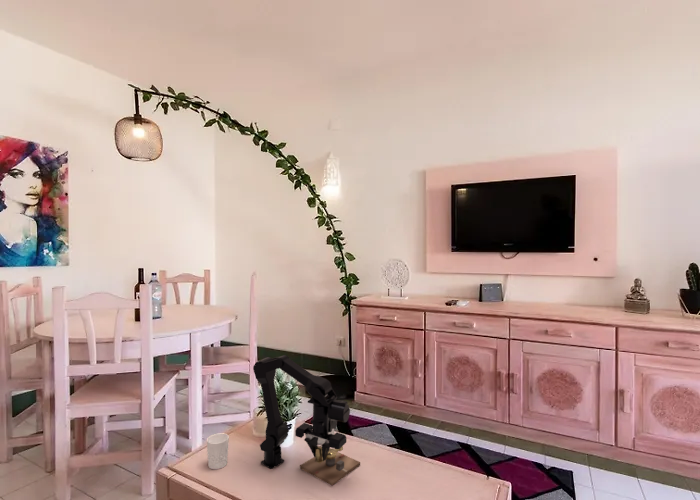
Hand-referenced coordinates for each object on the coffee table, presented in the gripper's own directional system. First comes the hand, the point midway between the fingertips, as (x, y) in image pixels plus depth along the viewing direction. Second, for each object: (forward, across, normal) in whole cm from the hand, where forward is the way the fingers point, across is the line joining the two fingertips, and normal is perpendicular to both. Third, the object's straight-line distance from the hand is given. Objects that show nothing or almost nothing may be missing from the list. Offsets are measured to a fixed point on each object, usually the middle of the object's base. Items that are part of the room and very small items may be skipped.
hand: (320, 458), depth 136 cm
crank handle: (+2, -1, -6) cm, 6 cm away
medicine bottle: (+7, +12, -22) cm, 25 cm away
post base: (+6, -1, -6) cm, 9 cm away
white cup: (+7, +38, +13) cm, 40 cm away
